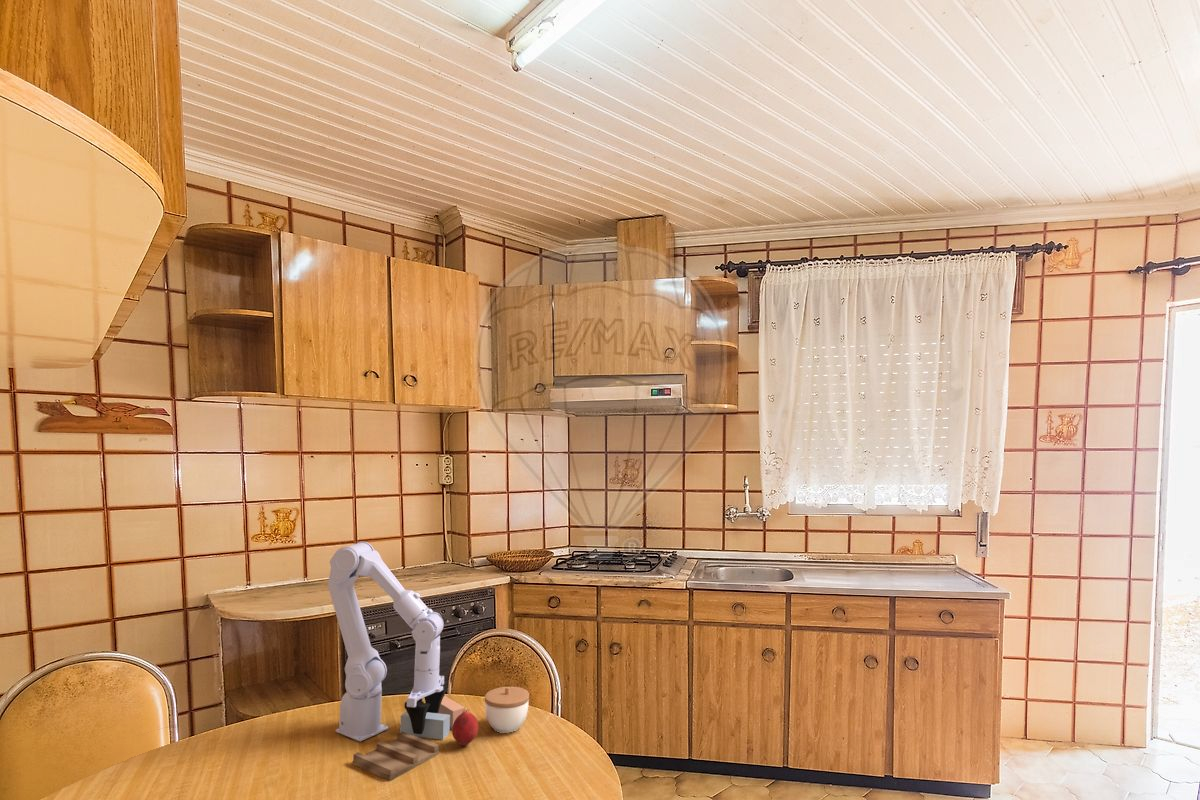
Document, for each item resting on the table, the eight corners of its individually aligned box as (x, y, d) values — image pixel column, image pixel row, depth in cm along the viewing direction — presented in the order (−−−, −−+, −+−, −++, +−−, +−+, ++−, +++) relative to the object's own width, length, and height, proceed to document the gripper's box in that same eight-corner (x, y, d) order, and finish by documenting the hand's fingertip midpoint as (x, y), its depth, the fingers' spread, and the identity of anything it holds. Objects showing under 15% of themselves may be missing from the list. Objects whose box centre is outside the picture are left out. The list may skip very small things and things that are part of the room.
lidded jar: (506, 714, 152) (507, 676, 153) (537, 725, 146) (538, 685, 147) (474, 730, 143) (475, 689, 144) (506, 742, 137) (507, 700, 138)
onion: (471, 753, 132) (472, 715, 133) (447, 750, 133) (448, 713, 134) (481, 741, 138) (482, 704, 139) (458, 738, 139) (459, 702, 140)
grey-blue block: (400, 735, 141) (400, 715, 141) (407, 729, 144) (408, 710, 144) (442, 740, 138) (443, 720, 139) (449, 734, 141) (449, 714, 142)
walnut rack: (352, 764, 127) (353, 754, 127) (402, 740, 138) (402, 731, 138) (389, 780, 121) (390, 770, 121) (438, 754, 132) (438, 744, 132)
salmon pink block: (430, 716, 151) (431, 697, 152) (441, 712, 153) (442, 694, 154) (452, 730, 143) (453, 711, 144) (464, 726, 145) (464, 707, 146)
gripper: (427, 679, 135) (425, 742, 133) (456, 658, 149) (454, 715, 147) (399, 677, 136) (396, 739, 135) (430, 656, 150) (428, 712, 149)
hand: (425, 726), depth 141 cm, fingers open, 6 cm apart
